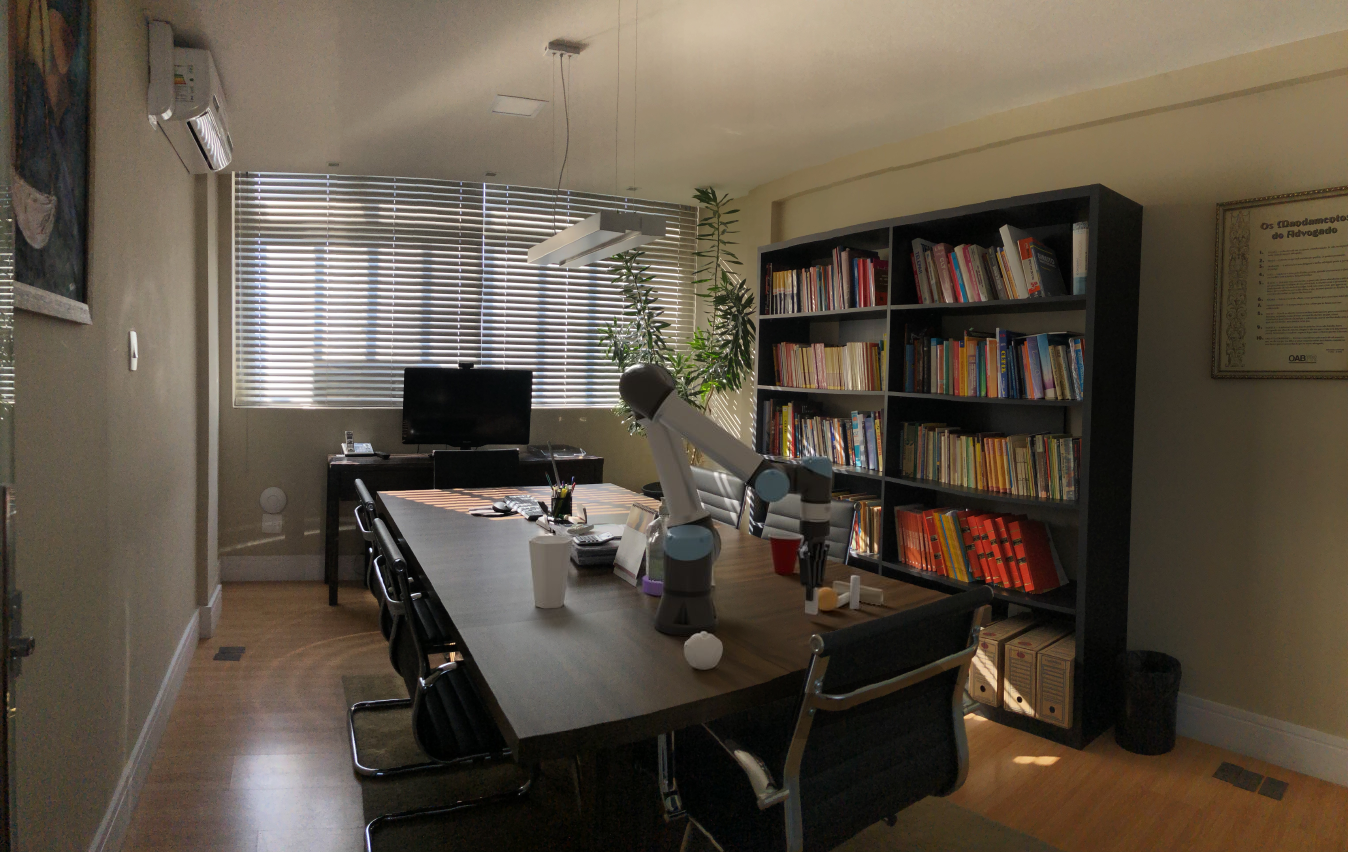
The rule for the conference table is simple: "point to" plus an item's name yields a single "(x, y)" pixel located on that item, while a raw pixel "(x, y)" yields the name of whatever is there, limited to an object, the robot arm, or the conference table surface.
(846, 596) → the pin
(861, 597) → the stop wall
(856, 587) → the pin
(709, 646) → the white round lump
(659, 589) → the masking tape
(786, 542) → the plastic cup
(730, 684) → the conference table surface
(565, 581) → the cup
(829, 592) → the ball
